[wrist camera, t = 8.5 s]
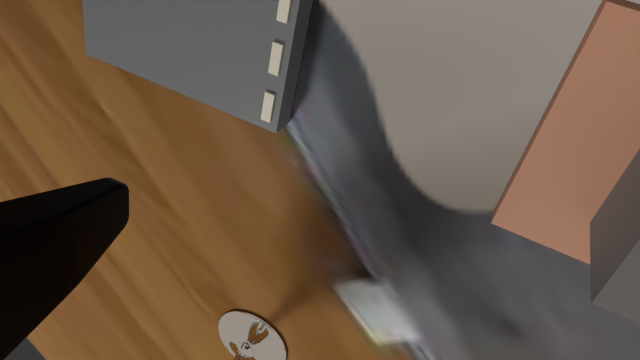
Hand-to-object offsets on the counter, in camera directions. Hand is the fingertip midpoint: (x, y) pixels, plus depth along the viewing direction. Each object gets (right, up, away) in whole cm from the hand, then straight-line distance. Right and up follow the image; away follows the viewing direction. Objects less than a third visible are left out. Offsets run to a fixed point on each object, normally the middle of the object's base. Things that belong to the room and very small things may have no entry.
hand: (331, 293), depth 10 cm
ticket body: (-5, +9, +11) cm, 15 cm away
